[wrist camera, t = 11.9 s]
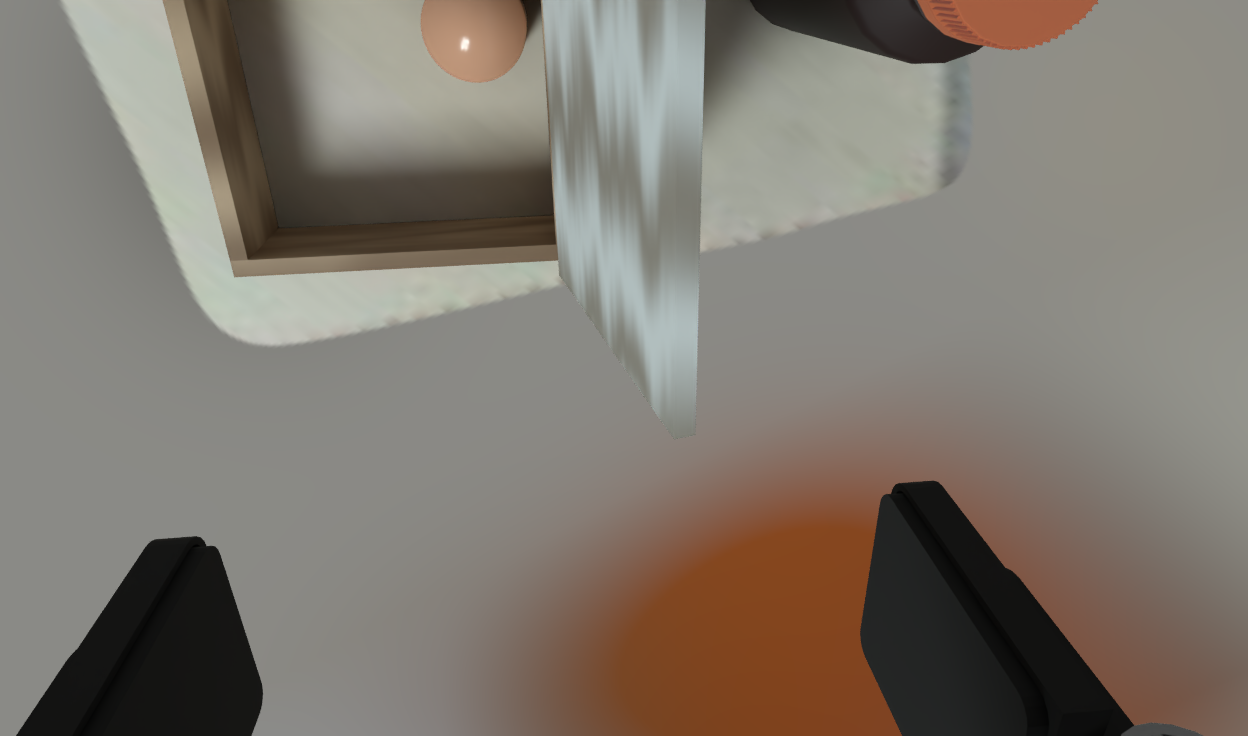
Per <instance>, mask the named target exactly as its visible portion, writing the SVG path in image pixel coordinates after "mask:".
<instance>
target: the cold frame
mask: <svg viewBox="0 0 1248 736" xmlns="http://www.w3.org/2000/svg"><path fill="white" fill-rule="evenodd" d="M163 3H164V7H165V11H166V15H167V19H168V23H169V26H170V30H171V34H172V38H173V42H174V46H175V50H176V54H177V57H178V61H179V65H180V69H181V73H182V77H183V81H184V84H185V88H186V92H187V96H188V100H189V104H190V108H191V111H192V115H193V119H194V123H195V127H196V131H197V135H198V138H199V142H200V146H201V150H202V154H203V158H204V162H205V165H206V169H207V173H208V177H209V181H210V185H211V189H212V193H213V196H214V200H215V204H216V208H217V212H218V216H219V220H220V223H221V227H222V231H223V235H224V239H225V243H226V247H227V250H228V254H229V258H230V262H231V266H232V270H233V274H234V277H247V276H266V275H285V274H305V273H324V272H343V271H362V270H382V269H401V268H420V267H440V266H459V265H478V264H498V263H517V262H536V261H555V260H558V263H559V276H560V277H561V279H562V280H563V281H564V283H565V284H566V286H567V287H568V288H569V290H570V291H571V293H572V294H573V296H574V297H575V298H576V300H577V301H578V303H579V304H580V306H581V307H582V309H583V310H584V311H585V313H586V314H587V316H588V317H589V319H590V320H591V321H592V323H593V324H594V326H595V327H596V329H597V330H598V331H599V333H600V334H601V336H602V337H603V339H604V340H605V341H606V343H607V344H608V346H609V347H610V349H611V350H612V351H613V353H614V354H615V355H616V357H617V359H618V360H619V361H620V363H621V364H622V366H623V367H624V368H625V370H626V371H627V373H628V374H629V376H630V377H631V379H632V380H633V381H634V383H635V384H636V386H637V387H638V389H639V390H640V391H641V393H642V394H643V395H644V397H645V398H646V400H647V402H648V403H649V404H650V406H651V407H652V409H653V410H654V412H655V413H656V414H657V416H658V417H659V419H660V420H661V422H662V423H663V424H664V426H665V427H666V429H667V430H668V431H669V433H670V434H671V436H672V437H673V439H678V438H683V437H688V436H693V435H695V428H696V386H697V341H698V302H699V299H698V298H699V259H700V217H701V175H702V133H703V91H704V49H705V7H706V0H541V11H542V27H543V44H544V60H545V76H546V92H547V108H548V124H549V140H550V156H551V172H552V188H553V205H554V215H548V216H527V217H506V218H485V219H464V220H443V221H422V222H401V223H380V224H359V225H338V226H317V227H296V228H278V223H277V219H276V214H275V210H274V205H273V201H272V197H271V192H270V188H269V183H268V179H267V174H266V170H265V166H264V161H263V157H262V152H261V148H260V143H259V139H258V134H257V130H256V126H255V121H254V117H253V112H252V108H251V103H250V99H249V95H248V90H247V86H246V81H245V77H244V72H243V68H242V64H241V59H240V55H239V50H238V46H237V41H236V37H235V32H234V28H233V24H232V19H231V15H230V10H229V6H228V1H227V0H163Z"/></svg>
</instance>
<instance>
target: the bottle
mask: <svg viewBox="0 0 1248 736" xmlns="http://www.w3.org/2000/svg"><path fill="white" fill-rule="evenodd" d="M750 1H751V3H752V4H753V6H754V8H755V9H756V11H758V12H759V13H760V14H761V15H762V16H764V17H765V18H766V19H767V20H768V21H770V22H771V23H772V24H774V25H777V26H780V27H783V28H786V29H789V30H792V31H795V32H799V33H802V34H806V35H809V36H813V37H817V38H820V39H824V40H828V41H831V42H835V43H838V44H842V45H846V46H849V47H853V48H857V49H860V50H864V51H867V52H871V53H875V54H878V55H882V56H885V57H889V58H893V59H896V60H900V61H904V62H907V63H911V64H921V63H946V62H949V61H951V60H954V59H957V58H960V57H962V56H965V55H968V54H971V53H973V52H976V51H977V50H979V49H980V48H981V47H983V46H989V47H994V48H999V49H1008V50H1012V49H1016V50H1019V49H1020V48H1023V49H1027V48H1028V47H1033V48H1034V47H1035V44H1036V45H1042V44H1043V42H1050V39H1051V38H1055V39H1057V38H1058V35H1060V34H1065V30H1067V29H1072V25H1074V24H1079V20H1081V19H1082V18H1085V17H1086V16H1085V15H1086V14H1087V13H1088V11H1092V9H1091V8H1092V7H1093V5H1094V4H1098V2H1097V1H1098V0H750Z"/></svg>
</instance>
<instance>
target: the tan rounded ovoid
mask: <svg viewBox="0 0 1248 736" xmlns="http://www.w3.org/2000/svg"><path fill="white" fill-rule="evenodd" d="M421 31H422V36H423V39H424V43H425V45H426V47H427V50H428V52H429V53H430V55H431V57H432V58H433V59H434V61H435V62H436V63H437V64H438V65H439V66H440V67H441V68H442V69H443V70H444V71H446V72H447V73H449V74H450V75H452V76H454V77H456V78H458V79H461V80H464V81H468V82H487V81H491V80H494V79H497V78H499V77H501V76H502V75H504V74H505V73H507V72H508V71H509V70H510V69H511V68H512V67H513V66H514V65H515V63H516V62H517V61H518V59H519V57H520V55H521V53H522V51H523V48H524V44H525V40H526V33H527V12H526V8H525V5H524V2H523V0H425V2H424V5H423V8H422V13H421Z"/></svg>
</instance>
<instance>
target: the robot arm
mask: <svg viewBox="0 0 1248 736" xmlns="http://www.w3.org/2000/svg"><path fill="white" fill-rule="evenodd" d="M860 636H861V644H862V649H863V652H864V655H865V658H866V660H867V662H868V664H869V666H870V668H871V670H872V672H873V675H874V677H875V679H876V681H877V683H878V685H879V687H880V690H881V691H882V694H883V696H884V698H885V700H886V702H887V704H888V706H889V708H890V711H891V713H892V715H893V717H894V719H895V721H896V724H897V725H898V728H899V730H900V732H901V734H902V736H1203V735H1200V734H1199V733H1197V732H1195V731H1191V730H1188V729H1185V728H1181V727H1178V726H1175V725H1171V724H1160V723H1147V724H1141V725H1136V726H1134V725H1133V723H1132V722H1131V721H1130V719H1129V718H1128V717H1127V716H1126V714H1125V713H1124V712H1123V711H1122V709H1121V708H1120V707H1119V705H1118V704H1117V703H1116V701H1115V700H1114V699H1113V698H1112V696H1111V695H1110V694H1109V693H1108V691H1107V690H1106V689H1105V687H1104V686H1103V685H1102V683H1101V682H1100V681H1099V680H1098V678H1097V677H1096V676H1095V674H1094V673H1093V672H1092V671H1091V669H1090V668H1089V667H1088V666H1087V664H1086V663H1085V662H1084V660H1083V659H1082V658H1081V657H1080V655H1079V654H1078V653H1077V651H1076V650H1075V649H1074V648H1073V646H1072V645H1071V644H1070V642H1069V641H1068V640H1067V639H1066V638H1065V636H1064V635H1063V633H1062V632H1061V631H1060V630H1059V628H1058V627H1057V626H1056V624H1055V623H1054V622H1053V621H1052V619H1051V618H1050V617H1049V615H1048V614H1047V613H1046V612H1045V610H1044V609H1043V608H1042V607H1041V605H1040V604H1039V603H1038V601H1037V600H1036V599H1035V598H1034V596H1033V595H1032V594H1031V593H1030V591H1029V590H1028V589H1027V587H1026V586H1025V585H1024V583H1023V582H1022V581H1021V580H1020V578H1019V577H1017V575H1016V574H1015V573H1013V571H1011V570H1009V569H1007V568H1005V567H1004V566H1003V564H1002V563H1001V562H1000V560H999V559H998V558H997V557H996V555H995V554H994V553H993V551H992V550H991V549H990V547H989V546H988V545H987V543H986V542H985V541H984V540H983V538H982V537H981V536H980V534H979V533H978V532H977V531H976V529H975V528H974V527H973V525H972V524H971V523H970V521H969V520H968V519H967V517H966V516H965V515H964V514H963V513H962V511H961V510H960V508H959V507H958V506H957V504H956V503H955V502H954V501H953V499H952V498H951V497H950V495H949V494H948V493H947V491H946V490H945V489H944V488H943V486H942V485H941V484H940V483H939V482H936V481H923V482H910V483H898V484H896V485H895V486H894V487H893V489H892V493H891V494H886V495H884V496H883V497H882V499H881V502H880V507H879V515H878V520H877V526H876V533H875V539H874V546H873V552H872V559H871V565H870V572H869V578H868V584H867V591H866V597H865V604H864V610H863V617H862V623H861V631H860ZM262 699H263V689H262V683H261V680H260V676H259V673H258V670H257V667H256V664H255V661H254V658H253V655H252V652H251V649H250V645H249V643H248V639H247V636H246V633H245V630H244V627H243V624H242V621H241V617H240V615H239V611H238V609H237V605H236V602H235V599H234V596H233V593H232V590H231V587H230V583H229V580H228V577H227V574H226V571H225V568H224V565H223V562H222V559H221V555H220V553H219V551H218V549H217V548H216V547H215V546H206V544H205V542H204V540H203V539H202V538H201V537H197V536H194V537H181V538H168V539H156V540H153V541H151V542H150V543H149V544H148V545H147V546H146V547H145V549H144V550H143V552H142V553H141V555H140V556H139V558H138V559H137V561H136V562H135V564H134V565H133V567H132V568H131V570H130V571H129V573H128V574H127V576H126V577H125V579H124V580H123V582H122V583H121V585H120V586H119V587H118V589H117V590H116V592H115V593H114V595H113V596H112V598H111V599H110V601H109V603H108V604H107V606H106V607H105V608H104V610H103V611H102V613H101V614H100V616H99V617H98V619H97V620H96V622H95V623H94V625H93V627H92V628H91V629H90V631H89V632H88V634H87V635H86V637H85V638H84V640H83V641H82V643H81V644H80V646H79V648H78V649H77V650H76V651H75V652H74V653H73V654H72V655H71V656H70V657H69V658H68V660H67V661H66V662H65V664H64V666H63V667H62V668H61V670H60V671H59V673H58V674H57V676H56V677H55V679H54V680H53V682H52V683H51V685H50V686H49V688H48V689H47V691H46V692H45V694H44V695H43V697H42V698H41V699H40V701H39V702H38V704H37V706H36V707H35V708H34V710H33V711H32V713H31V715H30V716H29V717H28V719H27V720H26V722H25V723H24V725H23V726H22V728H21V729H20V731H19V732H18V734H17V735H16V736H251V735H252V733H253V730H254V727H255V725H256V722H257V719H258V716H259V713H260V710H261V706H262Z"/></svg>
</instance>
